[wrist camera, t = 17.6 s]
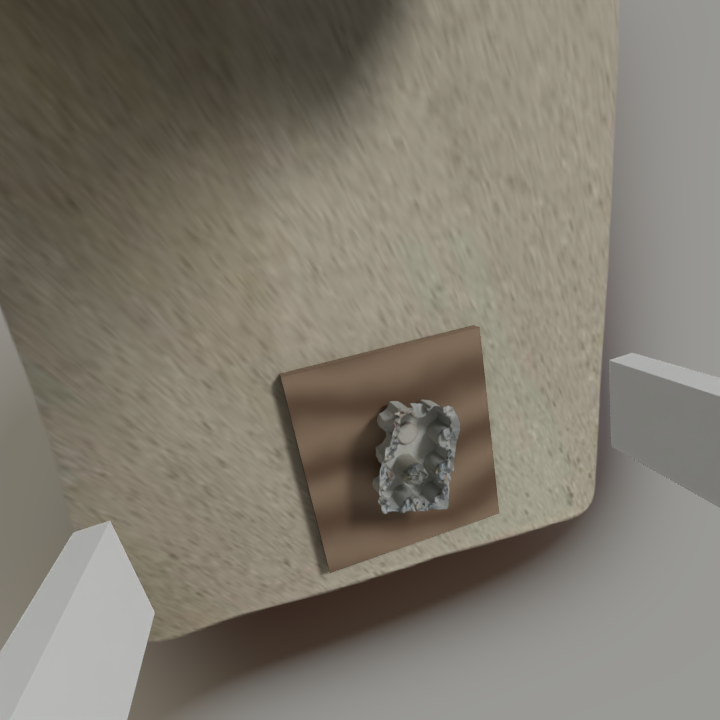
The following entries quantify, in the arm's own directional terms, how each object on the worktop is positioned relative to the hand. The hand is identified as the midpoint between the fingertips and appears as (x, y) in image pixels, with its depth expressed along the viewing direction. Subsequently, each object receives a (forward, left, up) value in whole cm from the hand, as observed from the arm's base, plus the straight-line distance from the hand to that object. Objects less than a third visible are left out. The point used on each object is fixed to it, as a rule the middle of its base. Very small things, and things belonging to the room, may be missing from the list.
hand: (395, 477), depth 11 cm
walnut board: (+16, +8, -29) cm, 34 cm away
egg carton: (+15, +6, -29) cm, 33 cm away
